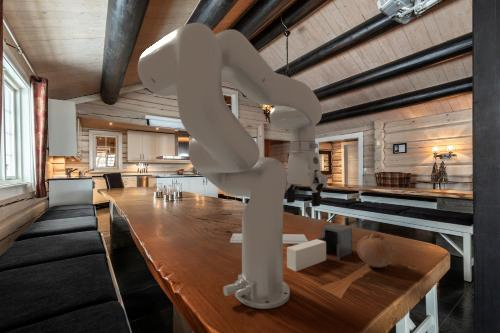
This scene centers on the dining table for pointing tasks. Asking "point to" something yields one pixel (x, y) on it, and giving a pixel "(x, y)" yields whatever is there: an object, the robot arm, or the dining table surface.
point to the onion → (375, 250)
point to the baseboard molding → (286, 238)
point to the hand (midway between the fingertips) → (302, 204)
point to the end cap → (337, 239)
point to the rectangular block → (306, 254)
